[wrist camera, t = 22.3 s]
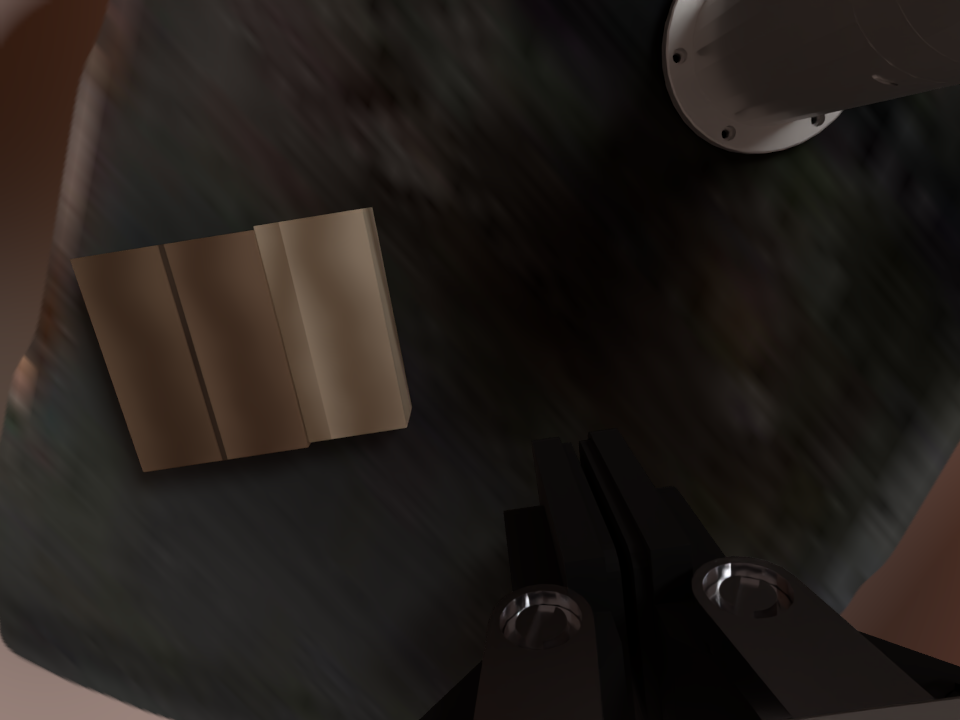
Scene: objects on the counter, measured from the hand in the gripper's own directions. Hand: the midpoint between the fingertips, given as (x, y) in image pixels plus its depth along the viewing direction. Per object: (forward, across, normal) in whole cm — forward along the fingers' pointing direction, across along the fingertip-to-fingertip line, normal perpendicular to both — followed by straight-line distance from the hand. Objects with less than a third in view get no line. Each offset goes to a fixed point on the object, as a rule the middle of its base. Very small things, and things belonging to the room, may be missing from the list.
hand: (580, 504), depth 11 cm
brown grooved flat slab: (+29, +20, +1) cm, 35 cm away
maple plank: (+29, +10, +1) cm, 31 cm away
